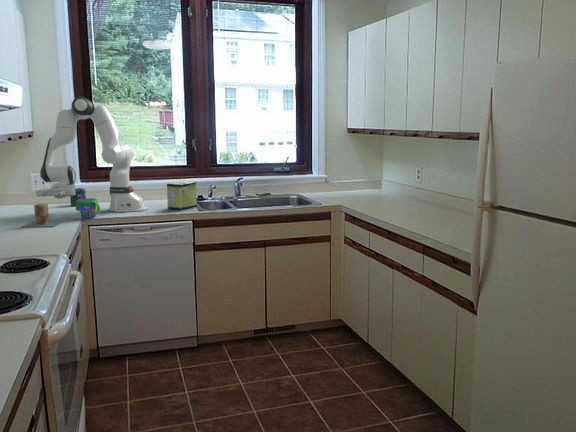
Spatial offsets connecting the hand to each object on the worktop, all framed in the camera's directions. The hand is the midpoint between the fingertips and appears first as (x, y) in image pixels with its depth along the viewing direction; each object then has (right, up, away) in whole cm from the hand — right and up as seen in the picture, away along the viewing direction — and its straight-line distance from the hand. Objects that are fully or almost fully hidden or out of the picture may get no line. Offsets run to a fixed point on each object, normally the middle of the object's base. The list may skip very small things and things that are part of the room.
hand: (50, 193), depth 304 cm
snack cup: (+17, -13, +10) cm, 24 cm away
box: (-4, -6, +51) cm, 51 cm away
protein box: (+64, -7, +41) cm, 76 cm away
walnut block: (0, -16, -9) cm, 18 cm away
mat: (0, -17, -9) cm, 19 cm away
